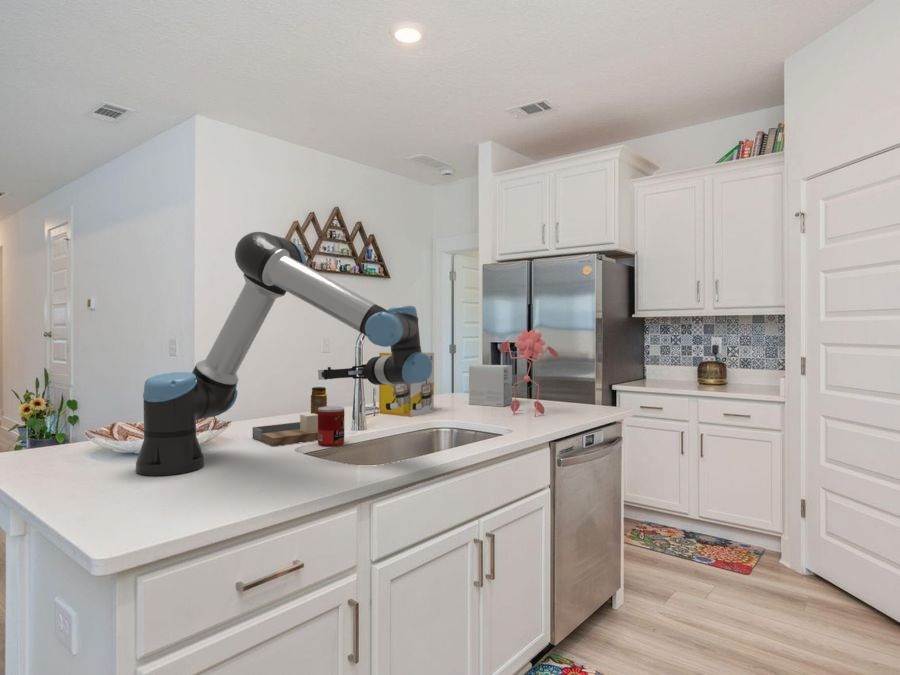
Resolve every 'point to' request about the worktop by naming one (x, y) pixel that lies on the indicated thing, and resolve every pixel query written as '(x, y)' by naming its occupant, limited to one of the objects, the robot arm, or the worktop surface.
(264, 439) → the board
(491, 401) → the supplement box
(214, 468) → the worktop surface
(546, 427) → the worktop surface
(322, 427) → the canned food
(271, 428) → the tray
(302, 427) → the off-white block
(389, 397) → the packaging box
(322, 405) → the condiment
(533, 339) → the pink wire stick figure
